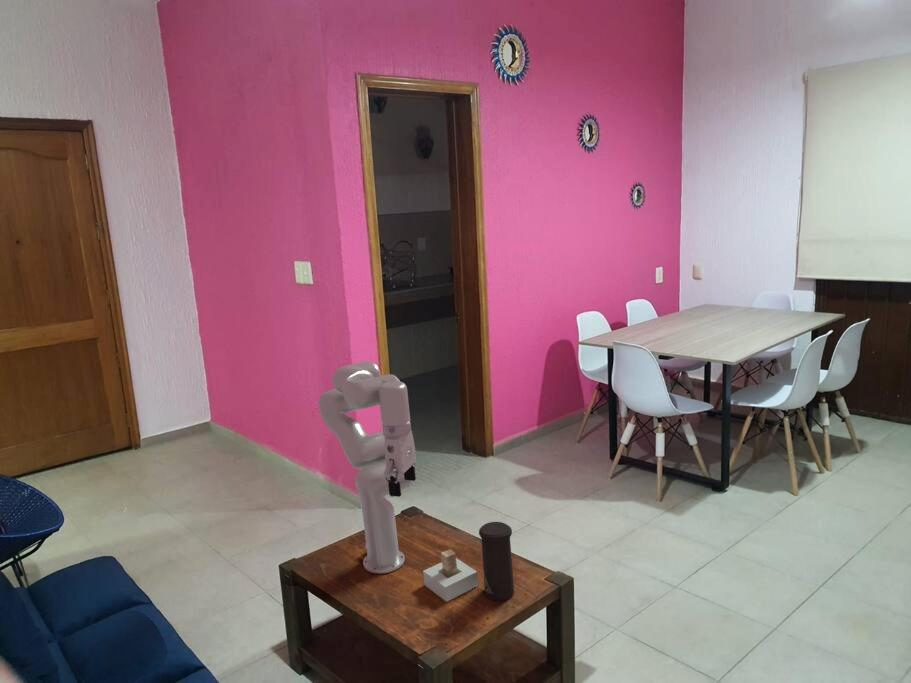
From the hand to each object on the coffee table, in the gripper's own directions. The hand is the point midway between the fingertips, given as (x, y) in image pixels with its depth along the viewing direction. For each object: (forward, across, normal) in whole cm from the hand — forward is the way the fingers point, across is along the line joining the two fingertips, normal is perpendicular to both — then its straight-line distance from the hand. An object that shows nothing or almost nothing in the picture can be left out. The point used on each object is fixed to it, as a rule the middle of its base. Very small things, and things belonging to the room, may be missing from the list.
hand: (403, 487), depth 185 cm
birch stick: (+31, +6, -9) cm, 33 cm away
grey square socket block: (+32, +6, -9) cm, 34 cm away
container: (+32, +6, -23) cm, 40 cm away
